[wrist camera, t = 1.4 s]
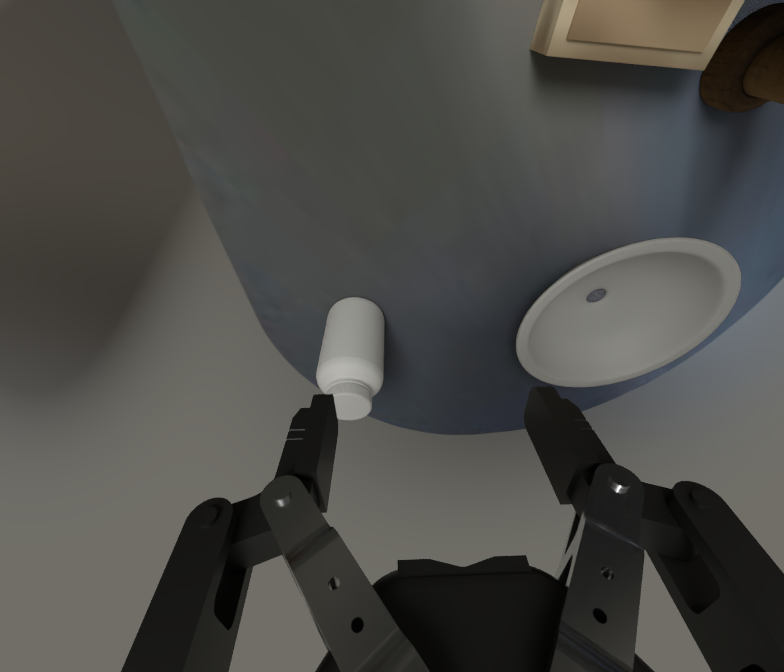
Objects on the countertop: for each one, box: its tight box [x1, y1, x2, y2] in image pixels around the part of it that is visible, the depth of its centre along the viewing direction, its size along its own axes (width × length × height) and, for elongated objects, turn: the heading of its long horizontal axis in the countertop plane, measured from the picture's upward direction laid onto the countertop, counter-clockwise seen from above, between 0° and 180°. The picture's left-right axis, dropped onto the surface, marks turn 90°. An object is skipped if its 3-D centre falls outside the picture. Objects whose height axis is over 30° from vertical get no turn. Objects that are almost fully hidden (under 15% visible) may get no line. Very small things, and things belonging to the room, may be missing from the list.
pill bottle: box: [316, 297, 385, 420], centre depth 42 cm, size 8×8×15 cm
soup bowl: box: [516, 237, 741, 387], centre depth 43 cm, size 24×24×7 cm
